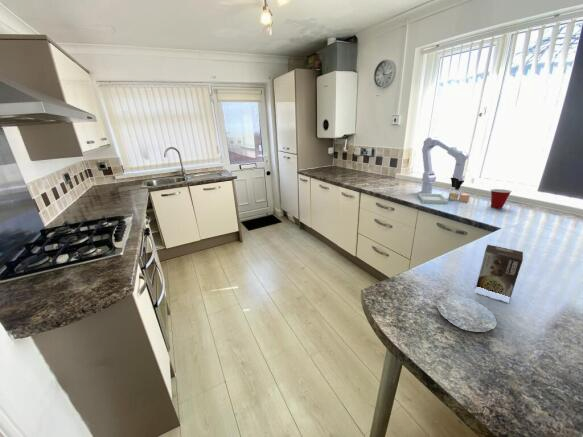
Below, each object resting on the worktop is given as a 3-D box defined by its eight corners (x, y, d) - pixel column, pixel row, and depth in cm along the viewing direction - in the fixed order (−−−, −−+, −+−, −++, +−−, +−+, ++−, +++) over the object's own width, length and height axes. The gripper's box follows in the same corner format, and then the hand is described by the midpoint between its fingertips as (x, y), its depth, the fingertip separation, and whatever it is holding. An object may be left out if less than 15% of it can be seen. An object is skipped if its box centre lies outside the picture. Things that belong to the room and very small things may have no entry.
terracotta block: (458, 199, 181) (460, 193, 179) (465, 200, 180) (467, 193, 178) (461, 201, 177) (462, 195, 175) (468, 201, 176) (469, 195, 174)
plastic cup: (499, 204, 167) (504, 187, 163) (510, 209, 157) (516, 191, 153) (482, 204, 168) (486, 187, 164) (492, 209, 158) (497, 192, 154)
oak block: (448, 198, 185) (449, 192, 184) (455, 198, 184) (456, 192, 182) (450, 200, 181) (451, 193, 180) (457, 200, 180) (458, 193, 178)
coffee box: (509, 294, 81) (524, 251, 75) (508, 304, 77) (524, 260, 71) (476, 284, 87) (487, 243, 81) (473, 292, 82) (485, 250, 77)
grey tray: (417, 196, 193) (418, 193, 192) (440, 197, 189) (441, 194, 188) (422, 202, 177) (423, 199, 176) (447, 203, 173) (448, 200, 172)
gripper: (469, 171, 167) (465, 191, 172) (461, 168, 180) (457, 186, 185) (457, 171, 169) (453, 190, 174) (451, 168, 182) (447, 186, 187)
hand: (455, 188), depth 180 cm, fingers open, 7 cm apart
